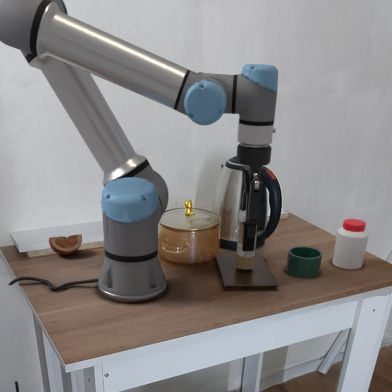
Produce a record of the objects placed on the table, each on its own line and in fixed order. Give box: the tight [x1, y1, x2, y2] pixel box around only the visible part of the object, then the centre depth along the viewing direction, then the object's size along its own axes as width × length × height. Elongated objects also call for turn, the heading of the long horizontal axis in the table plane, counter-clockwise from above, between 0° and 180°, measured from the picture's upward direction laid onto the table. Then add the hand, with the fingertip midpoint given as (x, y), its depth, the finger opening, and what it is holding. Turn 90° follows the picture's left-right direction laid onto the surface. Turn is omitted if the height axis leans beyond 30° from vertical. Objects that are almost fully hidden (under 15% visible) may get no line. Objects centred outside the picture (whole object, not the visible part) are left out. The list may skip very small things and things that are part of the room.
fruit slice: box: [48, 234, 83, 256], centre depth 141 cm, size 8×7×5 cm
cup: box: [285, 245, 324, 279], centre depth 137 cm, size 8×8×5 cm
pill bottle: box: [331, 218, 370, 270], centre depth 141 cm, size 8×8×11 cm
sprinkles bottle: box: [235, 210, 258, 270], centre depth 132 cm, size 5×5×14 cm
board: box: [214, 252, 278, 291], centre depth 136 cm, size 12×20×1 cm, turn 5°
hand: (246, 246), depth 132 cm, fingers closed on sprinkles bottle, 5 cm apart
